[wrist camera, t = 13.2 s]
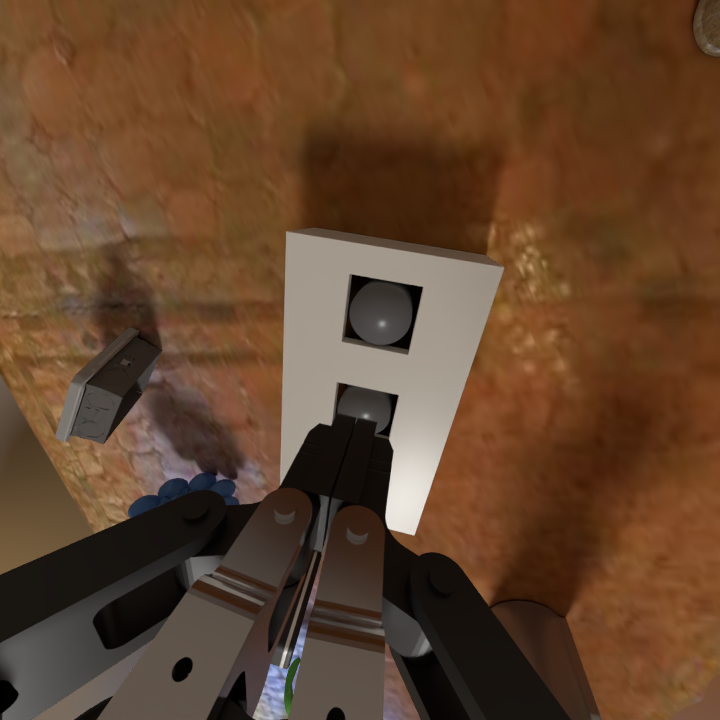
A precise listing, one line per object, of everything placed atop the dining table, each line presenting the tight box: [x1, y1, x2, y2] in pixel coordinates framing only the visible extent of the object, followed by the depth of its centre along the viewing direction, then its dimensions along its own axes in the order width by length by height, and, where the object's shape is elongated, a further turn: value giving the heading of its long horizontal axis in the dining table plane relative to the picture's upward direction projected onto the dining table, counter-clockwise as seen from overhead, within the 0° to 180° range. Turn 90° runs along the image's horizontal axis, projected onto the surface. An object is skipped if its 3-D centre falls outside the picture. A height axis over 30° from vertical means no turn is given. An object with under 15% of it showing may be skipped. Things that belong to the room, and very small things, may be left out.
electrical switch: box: [55, 327, 162, 444], centre depth 32 cm, size 9×5×9 cm, turn 143°
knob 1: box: [349, 278, 414, 345], centre depth 24 cm, size 4×4×5 cm
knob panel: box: [280, 227, 504, 535], centre depth 28 cm, size 14×26×6 cm, turn 172°
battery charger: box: [271, 551, 321, 669], centre depth 41 cm, size 7×4×11 cm, turn 167°
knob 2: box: [337, 384, 394, 434], centre depth 28 cm, size 4×4×5 cm
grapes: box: [128, 473, 239, 518], centre depth 37 cm, size 12×7×12 cm, turn 83°
